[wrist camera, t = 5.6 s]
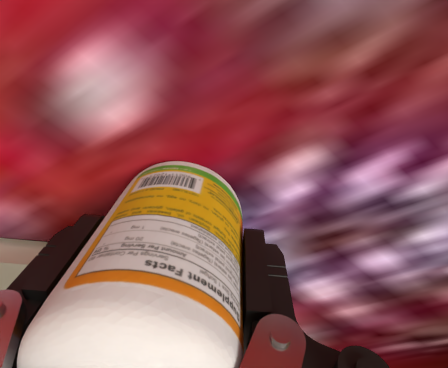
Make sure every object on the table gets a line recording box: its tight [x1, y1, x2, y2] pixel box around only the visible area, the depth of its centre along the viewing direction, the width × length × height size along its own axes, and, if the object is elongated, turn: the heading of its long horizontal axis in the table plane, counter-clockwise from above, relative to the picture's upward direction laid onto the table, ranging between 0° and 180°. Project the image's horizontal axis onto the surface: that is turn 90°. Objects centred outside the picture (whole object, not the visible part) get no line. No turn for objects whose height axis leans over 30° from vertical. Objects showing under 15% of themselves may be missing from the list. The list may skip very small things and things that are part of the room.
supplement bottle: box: [17, 161, 244, 368], centre depth 8 cm, size 5×5×10 cm
